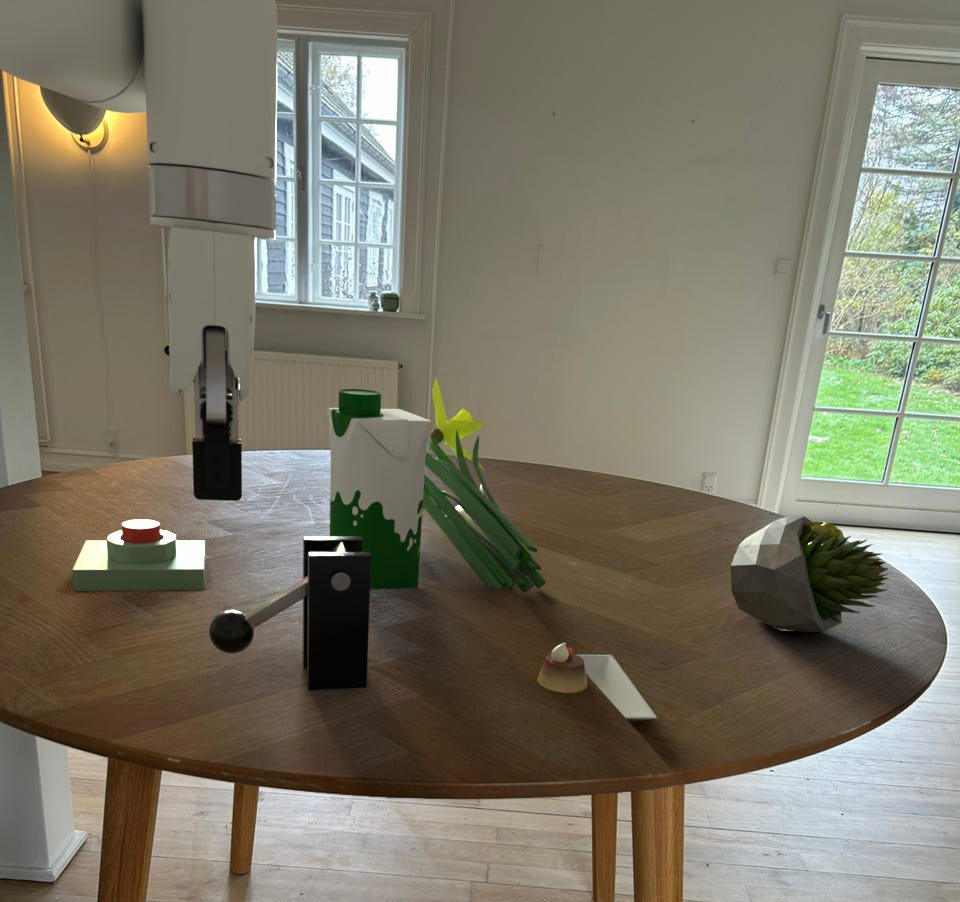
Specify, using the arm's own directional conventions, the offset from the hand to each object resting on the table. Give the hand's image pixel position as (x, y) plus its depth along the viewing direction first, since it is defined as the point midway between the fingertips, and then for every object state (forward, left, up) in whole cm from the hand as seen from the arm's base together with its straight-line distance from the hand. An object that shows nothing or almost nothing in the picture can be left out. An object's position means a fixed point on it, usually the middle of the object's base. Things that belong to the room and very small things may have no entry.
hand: (218, 496), depth 62 cm
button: (-8, +29, -12) cm, 32 cm away
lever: (+5, 0, -9) cm, 10 cm away
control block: (-8, +29, -15) cm, 33 cm away
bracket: (+8, 0, -15) cm, 17 cm away
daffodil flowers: (+28, +36, -15) cm, 48 cm away
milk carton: (+15, +24, -15) cm, 32 cm away
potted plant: (+57, +10, -15) cm, 60 cm away
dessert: (+26, -3, -15) cm, 31 cm away
